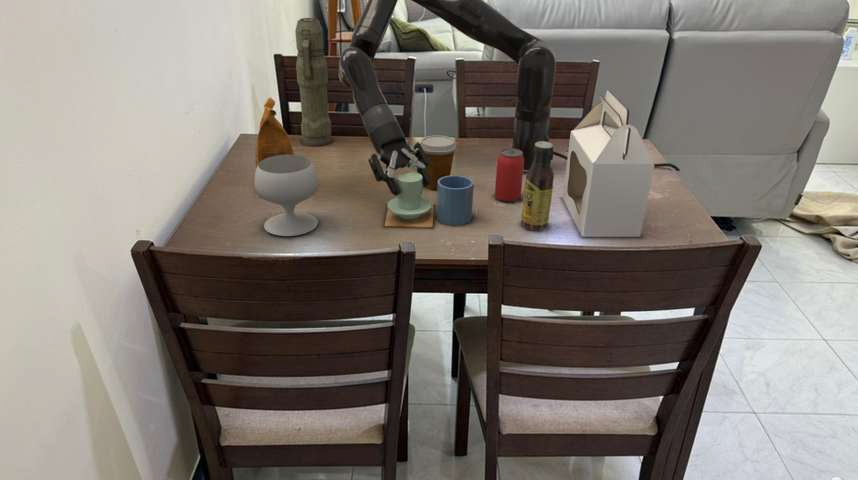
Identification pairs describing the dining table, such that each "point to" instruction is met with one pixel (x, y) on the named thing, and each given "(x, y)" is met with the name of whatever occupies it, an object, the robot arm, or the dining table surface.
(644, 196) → the gable box
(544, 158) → the sauce bottle
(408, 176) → the pale green top hat
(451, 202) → the blue cup
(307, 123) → the stone tiki statue
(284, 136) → the coffee package
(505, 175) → the beer can
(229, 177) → the dining table surface
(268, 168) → the chalice
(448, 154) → the disposable coffee cup
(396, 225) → the cork mat
